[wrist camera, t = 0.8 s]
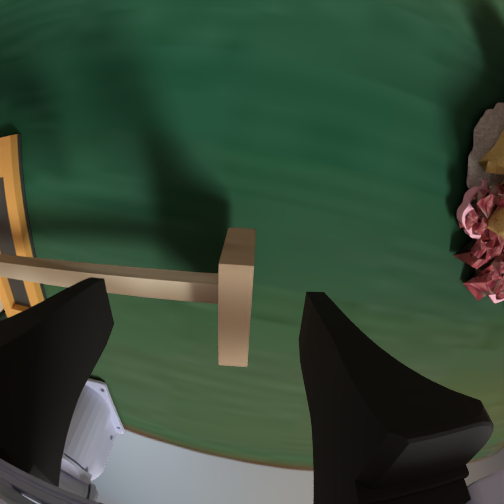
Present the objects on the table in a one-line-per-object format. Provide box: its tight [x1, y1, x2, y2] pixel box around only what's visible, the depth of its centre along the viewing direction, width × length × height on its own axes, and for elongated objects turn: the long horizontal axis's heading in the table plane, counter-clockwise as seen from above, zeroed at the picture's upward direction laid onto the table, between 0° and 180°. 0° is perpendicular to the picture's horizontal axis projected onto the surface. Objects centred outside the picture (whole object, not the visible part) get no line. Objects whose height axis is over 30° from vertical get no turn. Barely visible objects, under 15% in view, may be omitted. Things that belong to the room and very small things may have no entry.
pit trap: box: [0, 134, 47, 318], centre depth 20 cm, size 18×6×1 cm, turn 177°
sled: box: [0, 227, 256, 367], centre depth 17 cm, size 13×25×6 cm, turn 87°
